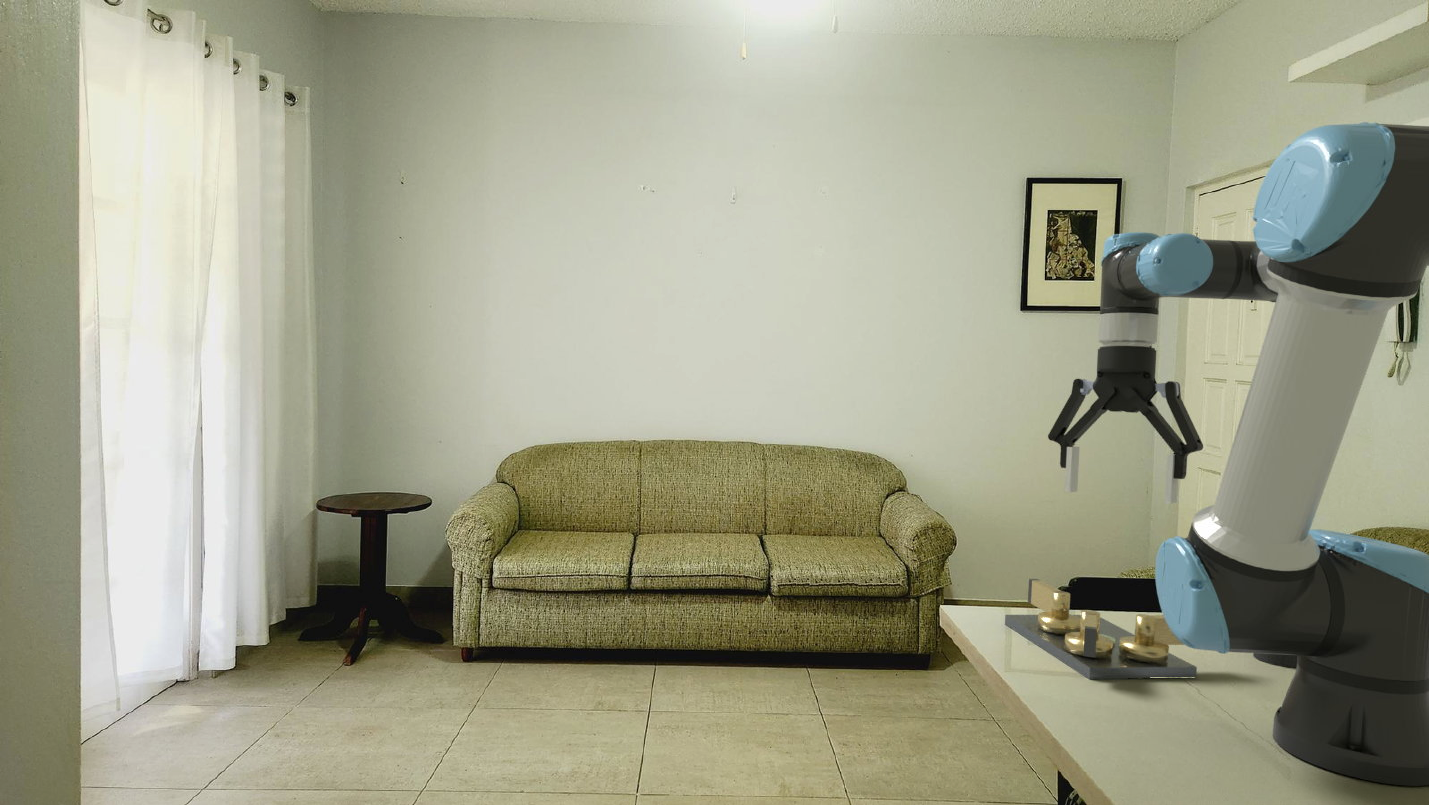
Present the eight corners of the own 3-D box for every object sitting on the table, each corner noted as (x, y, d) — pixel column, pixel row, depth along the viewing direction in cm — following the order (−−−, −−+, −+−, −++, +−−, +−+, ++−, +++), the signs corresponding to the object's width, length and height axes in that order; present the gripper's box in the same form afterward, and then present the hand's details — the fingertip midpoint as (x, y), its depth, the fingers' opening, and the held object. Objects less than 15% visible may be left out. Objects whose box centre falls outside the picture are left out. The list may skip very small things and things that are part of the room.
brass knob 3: (1135, 662, 120) (1138, 623, 120) (1109, 647, 126) (1112, 610, 126) (1216, 662, 122) (1218, 623, 122) (1186, 647, 128) (1189, 610, 128)
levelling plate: (1195, 678, 120) (1197, 660, 120) (1089, 679, 118) (1090, 660, 118) (1095, 624, 144) (1096, 609, 144) (1004, 624, 142) (1005, 609, 142)
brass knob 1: (1089, 634, 132) (1091, 598, 132) (1050, 634, 131) (1052, 598, 131) (1049, 612, 144) (1051, 579, 143) (1013, 611, 143) (1015, 578, 142)
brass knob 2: (1064, 641, 129) (1067, 604, 128) (1111, 647, 126) (1113, 610, 126) (1063, 665, 118) (1065, 625, 118) (1114, 673, 116) (1116, 632, 115)
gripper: (1233, 347, 123) (1224, 506, 124) (1050, 347, 140) (1043, 486, 141) (1217, 344, 118) (1208, 509, 118) (1029, 343, 135) (1022, 488, 135)
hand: (1119, 497), depth 129 cm, fingers open, 13 cm apart
